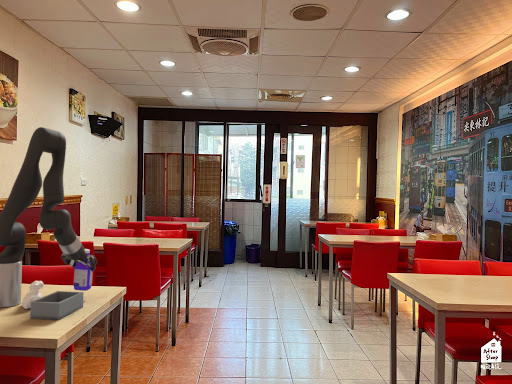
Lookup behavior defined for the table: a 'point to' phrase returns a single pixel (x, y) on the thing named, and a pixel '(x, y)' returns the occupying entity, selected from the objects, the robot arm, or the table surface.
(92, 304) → the table surface
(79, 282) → the bottle
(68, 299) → the tote
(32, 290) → the bust
